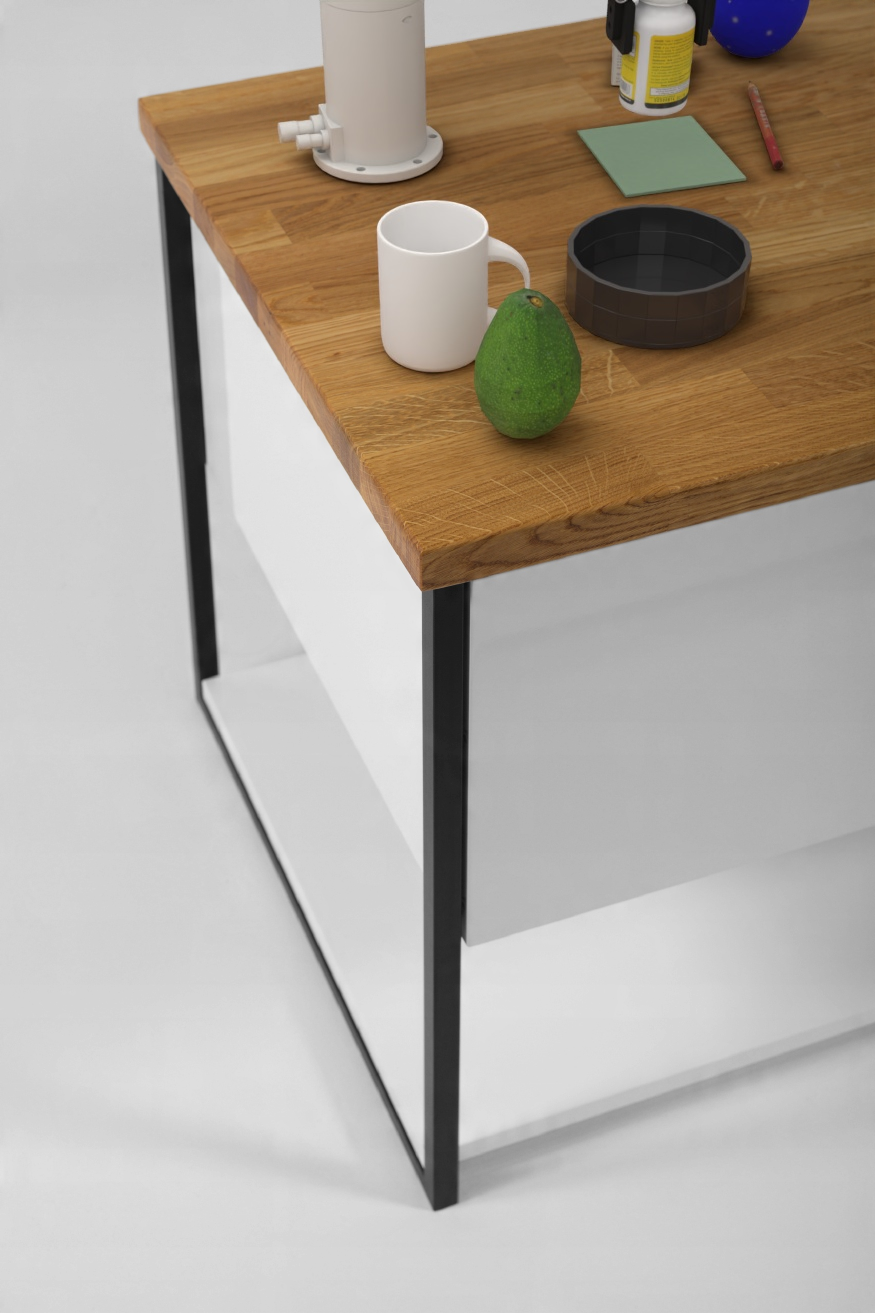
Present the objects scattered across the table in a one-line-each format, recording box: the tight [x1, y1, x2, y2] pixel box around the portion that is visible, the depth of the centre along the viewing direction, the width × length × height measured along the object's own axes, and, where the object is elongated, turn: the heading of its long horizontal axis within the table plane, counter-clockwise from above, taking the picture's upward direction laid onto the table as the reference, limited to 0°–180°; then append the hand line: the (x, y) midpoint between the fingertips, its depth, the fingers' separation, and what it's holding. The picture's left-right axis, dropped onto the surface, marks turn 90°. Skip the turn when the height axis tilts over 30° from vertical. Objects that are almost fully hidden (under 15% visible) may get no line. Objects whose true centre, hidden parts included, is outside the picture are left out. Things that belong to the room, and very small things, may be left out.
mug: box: [376, 199, 531, 373], centre depth 129 cm, size 9×12×11 cm
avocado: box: [473, 287, 583, 440], centre depth 120 cm, size 8×8×12 cm
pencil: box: [747, 80, 784, 170], centre depth 161 cm, size 19×1×1 cm, turn 0°
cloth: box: [576, 115, 747, 198], centre depth 157 cm, size 12×14×1 cm
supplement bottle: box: [618, 0, 696, 117], centre depth 125 cm, size 5×5×10 cm
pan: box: [564, 203, 753, 350], centre depth 136 cm, size 15×15×5 cm
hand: (658, 40), depth 125 cm, fingers closed on supplement bottle, 5 cm apart
